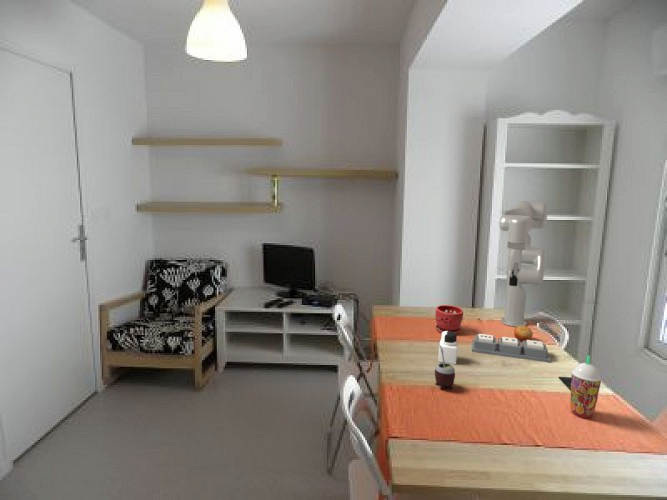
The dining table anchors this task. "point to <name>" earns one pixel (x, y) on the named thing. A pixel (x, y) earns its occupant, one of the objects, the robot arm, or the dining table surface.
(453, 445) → the dining table surface
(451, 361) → the medicine bottle
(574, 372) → the smoothie
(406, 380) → the dining table surface
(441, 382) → the mate gourd
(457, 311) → the plant pot
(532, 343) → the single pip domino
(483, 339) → the three dot tile
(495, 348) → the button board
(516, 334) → the fruit
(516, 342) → the two dot tile
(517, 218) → the robot arm
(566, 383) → the smartphone
